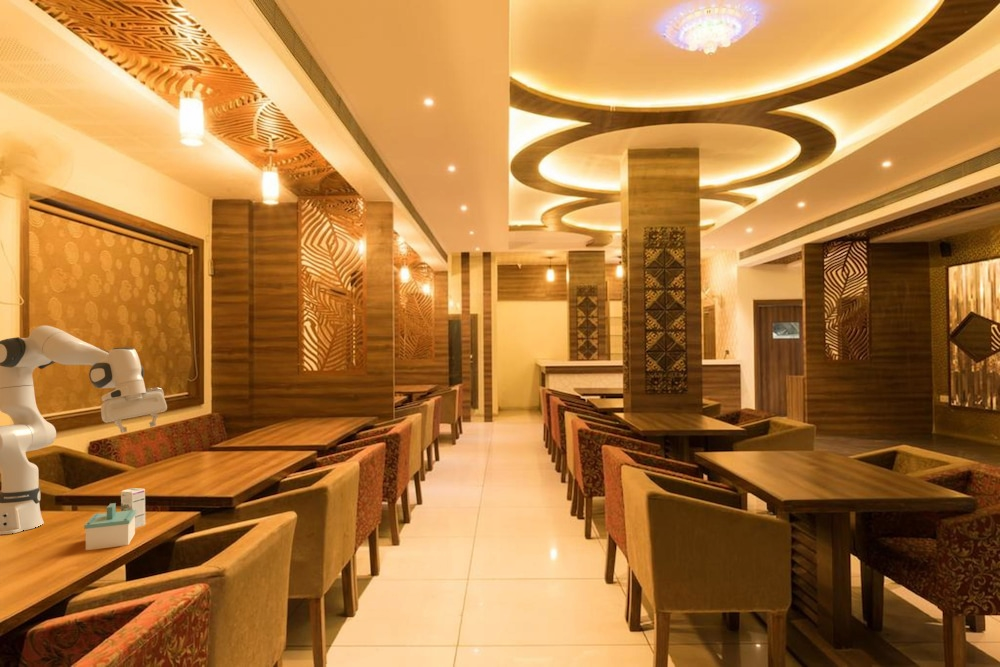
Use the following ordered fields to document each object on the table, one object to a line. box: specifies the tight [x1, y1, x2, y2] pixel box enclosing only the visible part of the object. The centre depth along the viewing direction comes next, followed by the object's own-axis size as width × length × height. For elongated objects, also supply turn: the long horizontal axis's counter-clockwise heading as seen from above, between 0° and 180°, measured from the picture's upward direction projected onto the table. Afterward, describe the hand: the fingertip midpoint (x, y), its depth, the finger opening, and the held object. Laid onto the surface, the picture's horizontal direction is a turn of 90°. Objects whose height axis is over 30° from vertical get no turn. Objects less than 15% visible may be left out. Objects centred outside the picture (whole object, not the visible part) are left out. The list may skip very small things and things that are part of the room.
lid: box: [83, 502, 136, 530], centre depth 208 cm, size 13×15×6 cm
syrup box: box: [120, 487, 147, 529], centre depth 227 cm, size 6×6×14 cm
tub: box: [85, 516, 136, 551], centre depth 208 cm, size 12×14×8 cm
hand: (138, 429), depth 216 cm, fingers open, 8 cm apart
